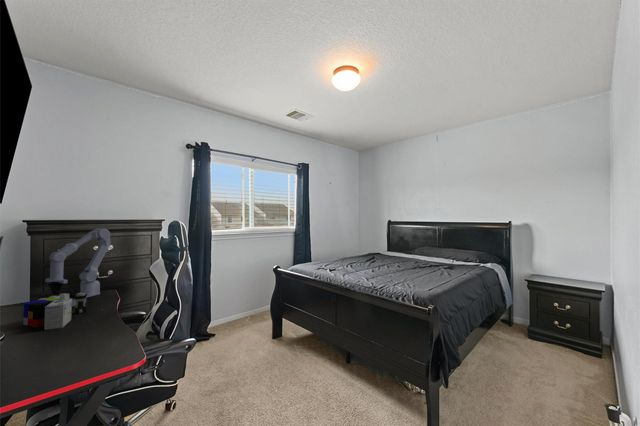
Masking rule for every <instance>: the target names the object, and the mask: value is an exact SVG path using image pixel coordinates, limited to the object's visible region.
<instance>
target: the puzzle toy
mask: <svg viewBox="0 0 640 426" xmlns="http://www.w3.org/2000/svg"><path fill="white" fill-rule="evenodd" d="M45 298H46V299H42V298H40V299H41V300H32V301H29V302H24V303H23V317H22V320H23V322H22V325H24V326H29V327H33V328H34V327H35V328H40V327H42V326H43V327H44V324H45V306H47V305H49V304H50V303H52V302H53V301H54V300H62V299H57V298H49V297H45Z"/></svg>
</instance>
